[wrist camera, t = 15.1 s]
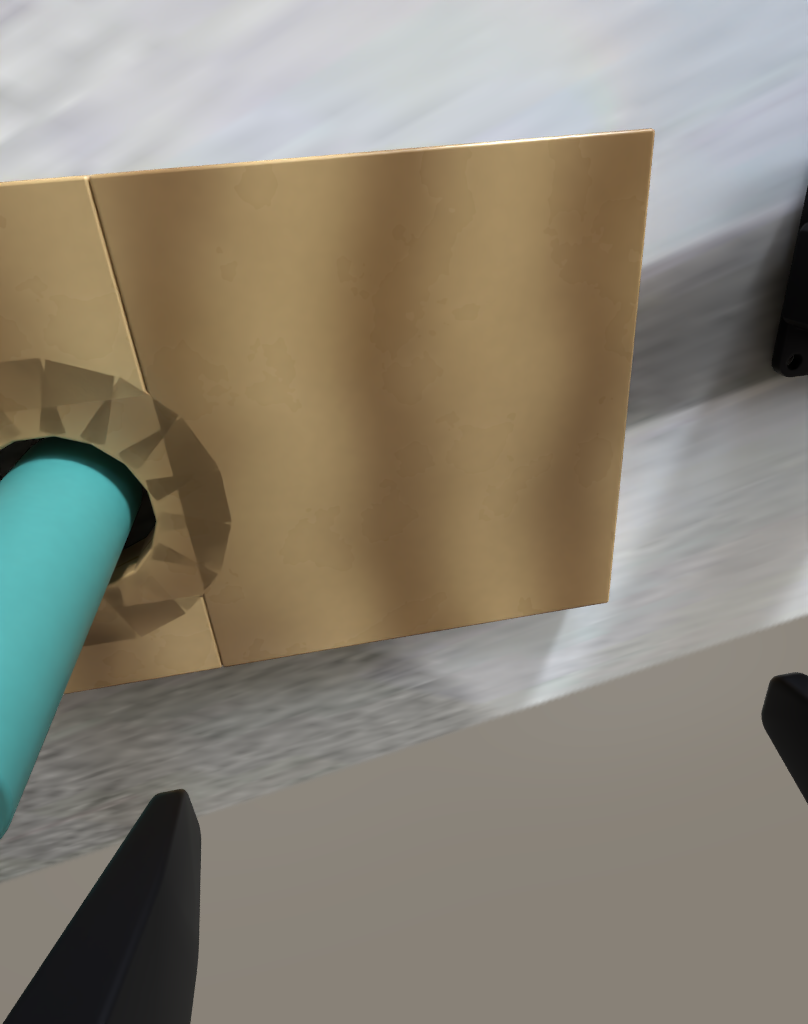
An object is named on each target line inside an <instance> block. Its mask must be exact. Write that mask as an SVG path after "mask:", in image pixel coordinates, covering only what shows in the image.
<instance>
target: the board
mask: <svg viewBox="0 0 808 1024" xmlns="http://www.w3.org/2000/svg"><path fill="white" fill-rule="evenodd" d="M654 135H655V131H654V129H651V128H650V129H638V130H626V131H614V132H602V133H590V134H578V135H566V136H554V137H542V138H530V139H518V140H505V141H493V142H481V143H469V144H457V145H445V146H433V147H421V148H409V149H397V150H385V151H373V152H361V153H348V154H336V155H324V156H312V157H300V158H288V159H276V160H264V161H252V162H240V163H228V164H216V165H203V166H191V167H179V168H167V169H155V170H143V171H131V172H119V173H107V174H95V175H83V176H71V177H59V178H46V179H34V180H22V181H10V182H0V450H1V449H3V448H4V447H6V446H8V445H10V444H11V443H13V442H15V441H22V440H30V439H38V438H46V437H54V436H55V437H59V438H64V439H69V440H73V441H78V442H83V443H87V444H91V445H93V446H95V447H96V448H98V449H100V450H101V451H103V452H105V453H106V454H108V455H110V456H112V457H113V458H115V459H117V460H118V461H120V462H122V463H123V464H125V465H126V466H127V467H128V469H129V470H130V471H131V472H132V473H133V475H134V476H135V477H136V478H137V479H138V481H139V482H140V483H141V484H142V485H143V487H144V488H145V489H146V490H147V491H148V495H149V498H150V501H151V505H152V508H153V511H154V515H155V518H156V524H155V526H154V528H153V529H152V530H151V532H150V533H149V534H148V536H147V537H146V538H145V539H143V540H141V541H139V542H137V543H135V544H134V545H132V546H130V547H128V548H126V549H124V550H123V551H122V552H121V554H120V557H119V559H118V562H117V564H116V566H115V569H114V571H113V574H112V576H111V579H110V581H109V584H108V586H107V588H106V591H105V593H104V596H103V598H102V601H101V603H100V606H99V608H98V610H97V613H96V615H95V618H94V620H93V623H92V625H91V628H90V630H89V632H88V635H87V637H86V640H85V642H84V645H83V647H82V650H81V652H80V654H79V657H78V659H77V662H76V664H75V667H74V669H73V672H72V674H71V676H70V679H69V681H68V684H67V686H66V689H65V691H64V694H68V693H74V692H80V691H86V690H92V689H98V688H103V687H109V686H115V685H121V684H127V683H133V682H139V681H145V680H151V679H157V678H163V677H169V676H175V675H180V674H186V673H192V672H198V671H204V670H210V669H216V668H220V667H222V664H223V666H224V667H228V666H234V665H240V664H246V663H252V662H258V661H264V660H270V659H276V658H282V657H287V656H293V655H299V654H305V653H311V652H317V651H323V650H329V649H335V648H341V647H347V646H353V645H359V644H364V643H370V642H376V641H382V640H388V639H394V638H400V637H406V636H412V635H418V634H424V633H430V632H435V631H441V630H447V629H453V628H459V627H465V626H471V625H477V624H483V623H489V622H495V621H501V620H507V619H512V618H518V617H524V616H530V615H536V614H542V613H548V612H554V611H560V610H566V609H572V608H578V607H584V606H589V605H595V604H601V603H607V602H608V600H609V590H610V580H611V570H612V560H613V550H614V540H615V530H616V519H617V509H618V499H619V489H620V479H621V469H622V459H623V449H624V439H625V428H626V418H627V408H628V398H629V388H630V378H631V368H632V358H633V348H634V337H635V327H636V317H637V307H638V297H639V287H640V277H641V267H642V257H643V246H644V236H645V226H646V216H647V206H648V196H649V186H650V176H651V166H652V155H653V145H654Z"/></svg>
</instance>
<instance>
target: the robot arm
mask: <svg viewBox="0 0 808 1024" xmlns="http://www.w3.org/2000/svg"><path fill="white" fill-rule="evenodd" d="M792 355H794V358H793V360H792V362H791V363H790V364H789V365H787V362H788V360H789V358H790V357H791V356H792ZM772 367H773V369H774V371H775V372H777V373H779V374H781V375H783V376H786V377H796V376H804V375H808V187H807V192H806V197H805V202H804V207H803V212H802V216H801V221H800V226H799V231H798V236H797V241H796V246H795V251H794V255H793V260H792V265H791V270H790V275H789V280H788V285H787V290H786V295H785V299H784V304H783V309H782V314H781V319H780V324H779V329H778V334H777V338H776V343H775V348H774V353H773V358H772ZM762 722H763V725H764V728H765V730H766V732H767V734H768V735H769V737H770V739H771V740H772V742H773V744H774V746H775V747H776V749H777V751H778V753H779V755H780V756H781V758H782V760H783V762H784V763H785V765H786V767H787V769H788V770H789V772H790V774H791V776H792V777H793V779H794V781H795V783H796V784H797V786H798V788H799V789H800V791H801V793H802V794H803V796H804V798H805V800H806V802H807V803H808V676H807V675H805V674H803V673H798V672H797V673H796V672H795V673H788V674H783V675H778V676H775V677H773V678H772V679H771V681H770V683H769V687H768V690H767V694H766V697H765V701H764V705H763V709H762ZM200 869H201V834H200V827H199V823H198V820H197V817H196V815H195V812H194V809H193V806H192V803H191V801H190V798H189V795H188V793H187V792H186V791H185V790H183V789H178V790H173V791H168V792H162V793H159V794H157V795H155V796H154V797H153V798H152V799H151V801H150V802H149V804H148V805H147V807H146V808H145V810H144V811H143V813H142V814H141V816H140V817H139V819H138V820H137V822H136V823H135V825H134V826H133V828H132V829H131V831H130V832H129V834H128V835H127V837H126V838H125V840H124V841H123V843H122V844H121V846H120V848H119V849H118V850H117V852H116V853H115V855H114V857H113V858H112V860H111V861H110V863H109V864H108V866H107V867H106V869H105V870H104V872H103V873H102V875H101V876H100V878H99V879H98V881H97V882H96V884H95V885H94V887H93V888H92V890H91V891H90V893H89V894H88V896H87V897H86V899H85V900H84V902H83V903H82V905H81V906H80V908H79V909H78V911H77V912H76V914H75V915H74V917H73V918H72V920H71V921H70V923H69V924H68V926H67V927H66V929H65V930H64V932H63V933H62V935H61V937H60V938H59V939H58V941H57V942H56V944H55V946H54V947H53V949H52V950H51V951H50V953H49V954H48V956H47V958H46V959H45V961H44V962H43V964H42V965H41V967H40V968H39V970H38V971H37V973H36V974H35V976H34V977H33V979H32V980H31V982H30V983H29V985H28V986H27V988H26V989H25V991H24V992H23V994H22V995H21V997H20V998H19V1000H18V1001H17V1003H16V1004H15V1006H14V1007H13V1009H12V1010H11V1012H10V1013H9V1015H8V1016H7V1018H6V1019H5V1021H4V1022H3V1024H190V1021H191V1014H192V1006H193V998H194V989H195V982H196V974H197V964H198V951H199V950H198V949H199V917H200V916H199V915H200Z"/></svg>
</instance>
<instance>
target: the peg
mask: <svg viewBox="0 0 808 1024" xmlns="http://www.w3.org/2000/svg"><path fill="white" fill-rule="evenodd" d="M141 501H142V485H141V483H140V482H139V481H138V479H137V478H136V477H135V476H134V475H133V473H132V472H131V471H130V470H129V469H128V467H127V466H126V465H125V464H123V463H122V462H120V461H118V460H117V459H115V458H113V457H112V456H110V455H108V454H106V453H105V452H103V451H101V450H100V449H98V448H96V447H95V446H93V445H91V444H87V443H83V442H78V441H73V440H69V439H64V438H59V437H55V436H54V437H48V438H45V439H43V440H41V441H39V442H38V443H36V444H35V445H33V446H32V447H31V448H30V449H29V450H28V451H27V452H26V453H25V454H24V455H23V456H22V458H21V459H20V460H19V461H18V462H17V463H16V464H15V466H14V467H13V468H12V469H11V470H10V471H9V472H8V473H7V475H6V476H5V477H4V478H3V479H2V480H1V481H0V839H1V838H2V837H3V835H4V834H5V832H6V831H7V830H8V827H9V825H10V823H11V821H12V818H13V816H14V813H15V811H16V808H17V806H18V804H19V801H20V799H21V796H22V794H23V791H24V789H25V786H26V784H27V782H28V779H29V777H30V774H31V772H32V769H33V767H34V764H35V762H36V760H37V757H38V755H39V752H40V750H41V747H42V745H43V742H44V740H45V738H46V735H47V733H48V730H49V728H50V725H51V723H52V720H53V718H54V716H55V713H56V711H57V708H58V706H59V703H60V701H61V698H62V696H63V694H64V691H65V689H66V686H67V684H68V681H69V679H70V676H71V674H72V672H73V669H74V667H75V664H76V662H77V659H78V657H79V654H80V652H81V650H82V647H83V645H84V642H85V640H86V637H87V635H88V632H89V630H90V628H91V625H92V623H93V620H94V618H95V615H96V613H97V610H98V608H99V606H100V603H101V601H102V598H103V596H104V593H105V591H106V588H107V586H108V584H109V581H110V579H111V576H112V574H113V571H114V569H115V566H116V564H117V562H118V559H119V557H120V554H121V552H122V549H123V547H124V544H125V542H126V540H127V537H128V535H129V532H130V530H131V527H132V525H133V522H134V520H135V518H136V515H137V513H138V510H139V508H140V505H141Z"/></svg>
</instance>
